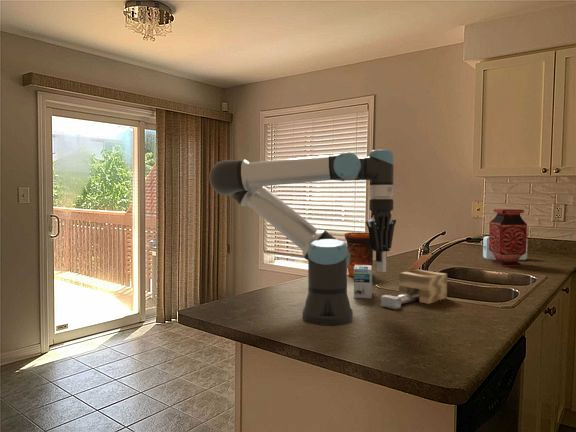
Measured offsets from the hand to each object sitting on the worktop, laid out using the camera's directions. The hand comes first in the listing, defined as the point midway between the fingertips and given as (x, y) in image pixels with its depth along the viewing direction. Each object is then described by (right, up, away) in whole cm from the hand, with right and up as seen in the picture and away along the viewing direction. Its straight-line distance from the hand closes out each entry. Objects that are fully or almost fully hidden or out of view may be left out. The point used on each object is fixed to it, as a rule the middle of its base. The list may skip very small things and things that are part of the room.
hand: (381, 271), depth 139 cm
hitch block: (+19, -12, +16) cm, 28 cm away
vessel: (+3, -10, +62) cm, 63 cm away
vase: (+88, -9, +91) cm, 127 cm away
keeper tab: (+18, 0, +19) cm, 27 cm away
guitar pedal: (+98, -8, +114) cm, 150 cm away
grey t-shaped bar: (+10, -12, +9) cm, 18 cm away
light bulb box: (-2, -12, +21) cm, 24 cm away
